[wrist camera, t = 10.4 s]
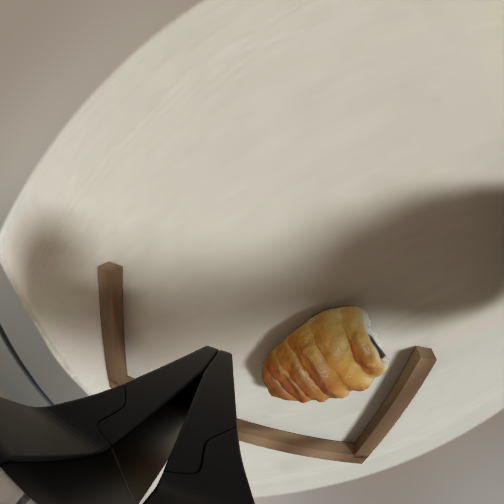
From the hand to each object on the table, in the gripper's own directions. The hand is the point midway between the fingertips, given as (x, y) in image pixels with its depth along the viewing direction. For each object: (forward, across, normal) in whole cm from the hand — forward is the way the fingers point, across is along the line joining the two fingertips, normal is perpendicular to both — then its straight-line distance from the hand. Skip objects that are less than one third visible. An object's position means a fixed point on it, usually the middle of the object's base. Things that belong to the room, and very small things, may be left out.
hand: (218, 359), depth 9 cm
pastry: (+12, -6, +6) cm, 14 cm away
